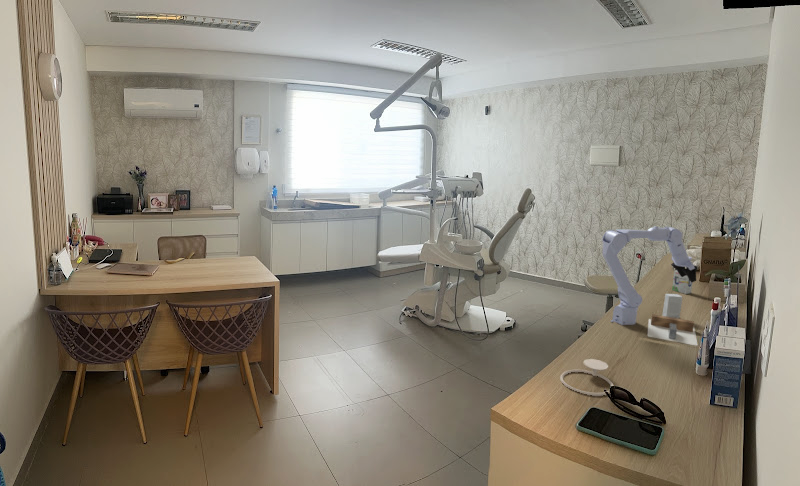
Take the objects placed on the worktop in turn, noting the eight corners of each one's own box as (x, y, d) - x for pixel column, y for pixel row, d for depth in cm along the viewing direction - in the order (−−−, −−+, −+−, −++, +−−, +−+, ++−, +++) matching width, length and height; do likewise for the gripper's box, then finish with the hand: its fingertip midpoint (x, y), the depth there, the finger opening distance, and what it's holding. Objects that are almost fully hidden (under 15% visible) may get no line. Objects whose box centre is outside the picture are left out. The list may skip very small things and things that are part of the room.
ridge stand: (697, 348, 189) (699, 336, 188) (647, 338, 198) (648, 327, 197) (693, 328, 210) (695, 318, 209) (648, 320, 218) (649, 310, 217)
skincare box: (674, 318, 223) (678, 294, 220) (679, 321, 218) (683, 297, 216) (661, 317, 223) (665, 293, 221) (665, 320, 219) (669, 296, 217)
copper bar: (650, 324, 211) (652, 316, 210) (650, 322, 213) (652, 314, 212) (692, 332, 203) (693, 323, 203) (692, 329, 206) (693, 321, 205)
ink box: (691, 293, 263) (694, 273, 261) (685, 294, 261) (688, 273, 259) (677, 289, 271) (680, 269, 269) (671, 290, 269) (674, 269, 267)
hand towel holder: (552, 372, 156) (575, 353, 171) (551, 384, 157) (574, 364, 172) (606, 390, 145) (625, 367, 161) (604, 403, 146) (623, 379, 162)
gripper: (697, 252, 200) (707, 279, 203) (678, 244, 214) (688, 270, 217) (681, 259, 201) (691, 286, 204) (663, 251, 215) (673, 276, 218)
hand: (688, 278), depth 211 cm, fingers open, 7 cm apart
